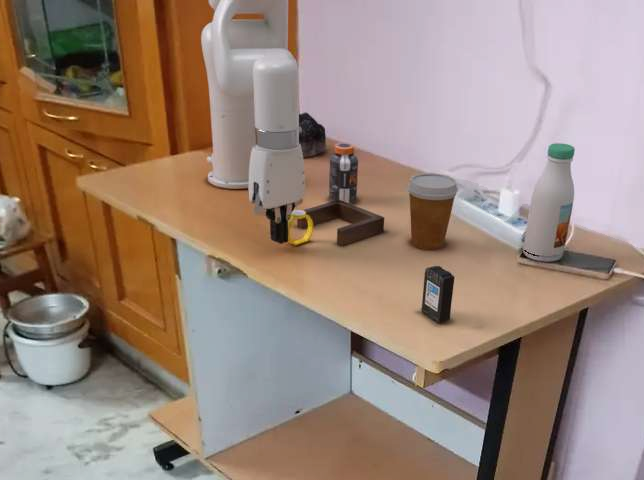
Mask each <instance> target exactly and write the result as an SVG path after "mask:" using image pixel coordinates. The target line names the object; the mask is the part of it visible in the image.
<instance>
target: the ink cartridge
mask: <svg viewBox="0 0 644 480" xmlns="http://www.w3.org/2000/svg"><path fill="white" fill-rule="evenodd" d="M423 276H424V277H423V290H422V302H421V308H420V310H421V313H422V314H423V315H425V316H427V317H428V318H429V319H431V320H432V321H434V322H435V323H437V324H439V323H442V322H446V321H450V319H451V311H452V303H453V302H452V301H453V294H454V285H455V276H454V275H453V274H452V272H450V271H448V270H447V269H444V268H443V267H442V266H440V265H434V266H429V267H426V268H425V270H424V275H423Z"/></svg>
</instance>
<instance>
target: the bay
mask: <svg viewBox="0 0 644 480" xmlns="http://www.w3.org/2000/svg"><path fill="white" fill-rule="evenodd" d="M302 210H303V211H305V212H306V214H307V215H309V216H310V218H311V219H312V221H313V226H316V225H319V224H322V223H325V222H329V221H331V220H335V219H341V220H344V221H346V222H349V223H350V224H348V225H344V226H341V227H338V228H337V229H336V245H338V246H341V247H344V246H346V245H349V244H352V243H355V242H359V241H362V240H364V239H367V238H371V237H373V236H377V235H379V234H382V233H384V231H385V216H382V215H380V214H377V213H375V212H372V211H370V210H367V209H364V208H362V207H359V206H357V205H354V204H353V203H350V204H349V203H347V202H344V201H341V200H336V201H333V202H332V201H330V202H326V203H323V204H319V205H316V206H312V207H310V208H305V209H302ZM296 227H297V228H300V229H302V230H303V229H305V228H308V221H307V219H306V217H304V218H302V219H296Z"/></svg>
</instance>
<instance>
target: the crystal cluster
mask: <svg viewBox="0 0 644 480" xmlns="http://www.w3.org/2000/svg"><path fill="white" fill-rule="evenodd" d="M299 126H300V127H301V129H302V133H301V134H299V144H300V145H301V149H302V154H303V158H308V157H309V158H310V157H313V156H316V155H319V154H322V153H325V151H326V147H327V146H326V145H327V141H326V140H327V135H326V128H325V127H324V126H323V124H321V123H319V122H318V121H316V119H315V118H314V117H313V116H311V114H309V113H308V112H306V111H305V112H302V113H299Z"/></svg>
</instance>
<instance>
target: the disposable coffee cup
mask: <svg viewBox="0 0 644 480" xmlns="http://www.w3.org/2000/svg"><path fill="white" fill-rule="evenodd" d="M409 179H410V180H409V183H407V186H406V187H407V190H408V193H409V210H410V211H409V213H410V214H409V215H410V233H411V234H410V235H411V245H413V246H414V247H416V248H419V249H423V250H437V249H441V248H442V247H444V245H445V242H446V241H445V240H446V236H447V232H448V227H449V223H450V219H451V216H452V215H451V214H452V211H453V205H454V203H455V202H454V201H455V197H456V195H457V193H458V192H459V187H458V184H457V180H456V179H455V178H454V177H451V176H449V175H446V174H441V173H433V172H432V173H431V172H429V173H428V172H427V173H426V172H425V173H419V174H418V173H417V174H415V175H413V176H411V177H410V178H409Z"/></svg>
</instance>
